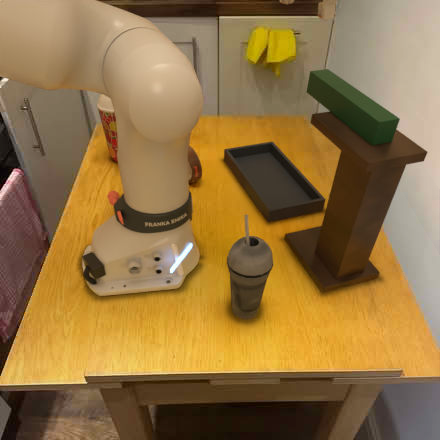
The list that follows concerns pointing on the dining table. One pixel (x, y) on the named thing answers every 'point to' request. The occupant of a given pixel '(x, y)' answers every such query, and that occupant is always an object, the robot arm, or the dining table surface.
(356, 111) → the long green square beam
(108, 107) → the smoothie
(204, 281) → the dining table surface
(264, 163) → the tray
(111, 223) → the robot arm
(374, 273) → the stand
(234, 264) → the beverage cup
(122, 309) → the dining table surface
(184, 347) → the dining table surface
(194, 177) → the tin
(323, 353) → the dining table surface
